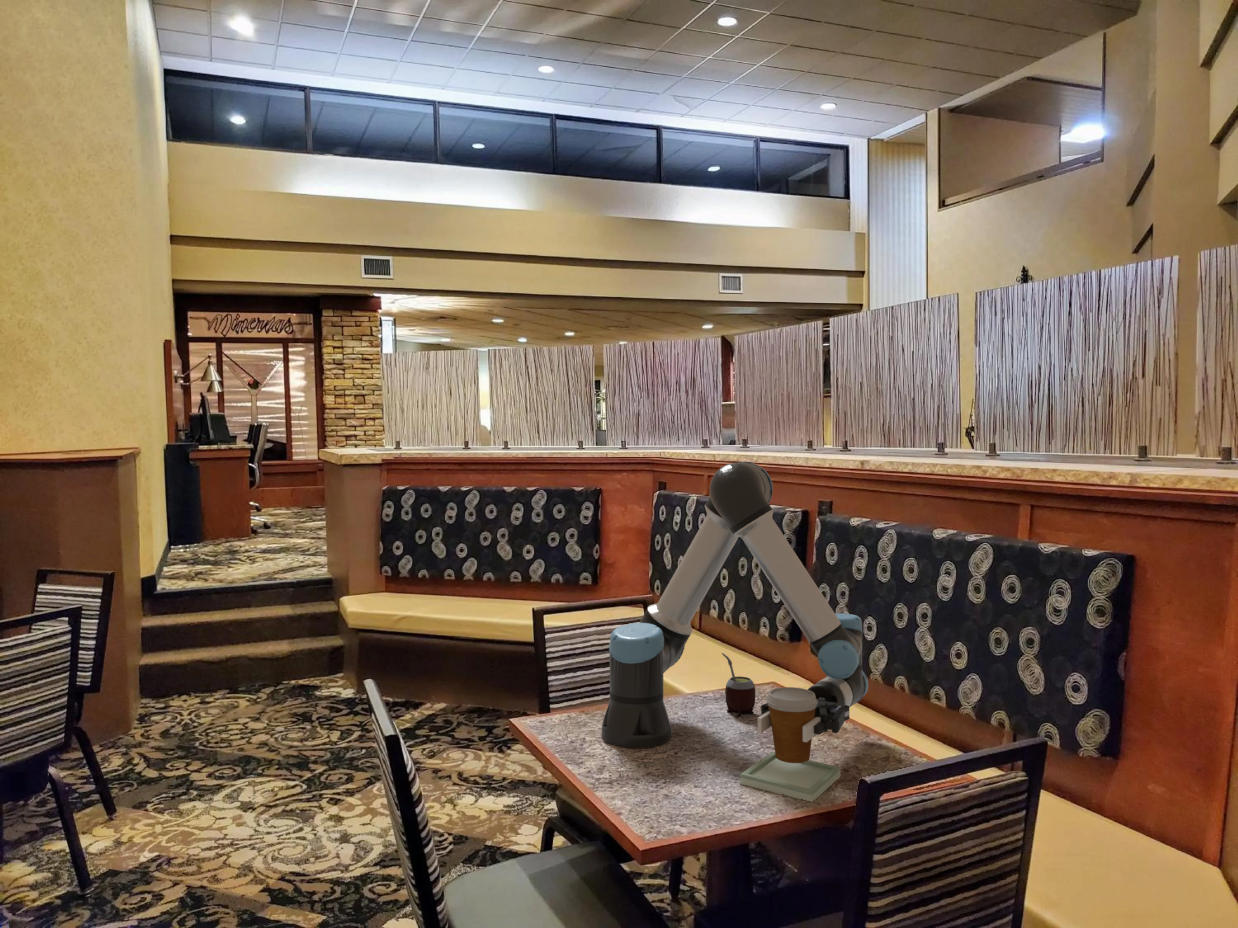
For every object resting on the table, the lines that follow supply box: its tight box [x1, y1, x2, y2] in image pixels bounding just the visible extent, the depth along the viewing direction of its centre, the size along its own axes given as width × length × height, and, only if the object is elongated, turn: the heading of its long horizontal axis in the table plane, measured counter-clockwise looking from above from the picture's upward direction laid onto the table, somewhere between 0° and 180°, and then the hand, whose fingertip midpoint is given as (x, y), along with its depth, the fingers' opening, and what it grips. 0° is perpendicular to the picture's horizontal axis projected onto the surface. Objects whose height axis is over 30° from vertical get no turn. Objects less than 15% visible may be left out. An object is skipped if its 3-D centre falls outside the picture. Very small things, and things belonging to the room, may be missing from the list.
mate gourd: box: [721, 653, 756, 718], centre depth 194 cm, size 8×8×15 cm
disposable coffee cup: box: [765, 686, 818, 763], centre depth 154 cm, size 10×10×12 cm
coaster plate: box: [739, 751, 841, 803], centre depth 154 cm, size 14×14×2 cm
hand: (781, 729), depth 150 cm, fingers closed on disposable coffee cup, 8 cm apart
